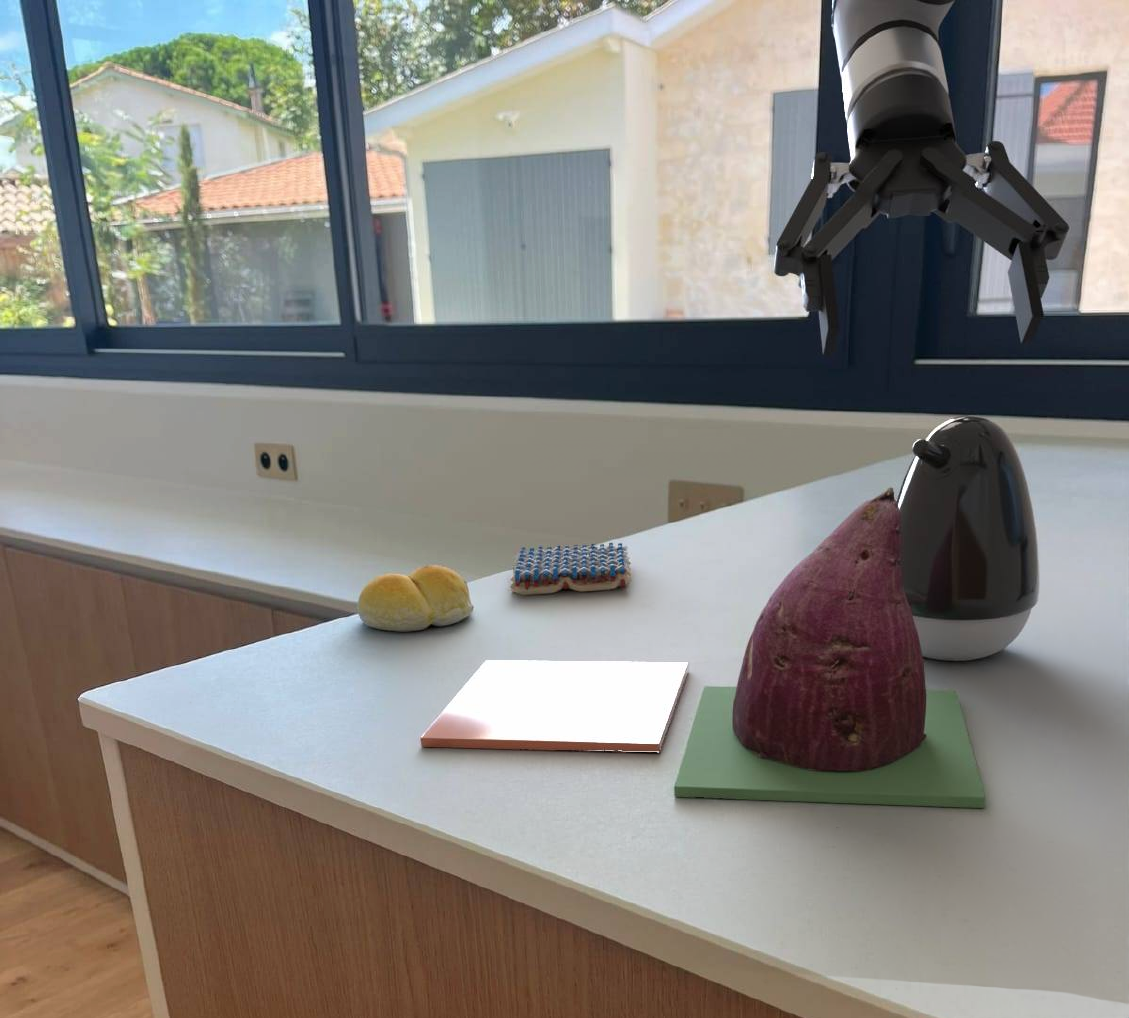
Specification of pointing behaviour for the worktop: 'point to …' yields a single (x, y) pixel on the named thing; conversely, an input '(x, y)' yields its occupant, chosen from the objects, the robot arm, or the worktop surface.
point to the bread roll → (415, 600)
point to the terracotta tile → (561, 706)
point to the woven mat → (570, 569)
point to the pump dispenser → (967, 540)
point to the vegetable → (837, 655)
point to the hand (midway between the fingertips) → (931, 336)
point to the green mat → (914, 779)
